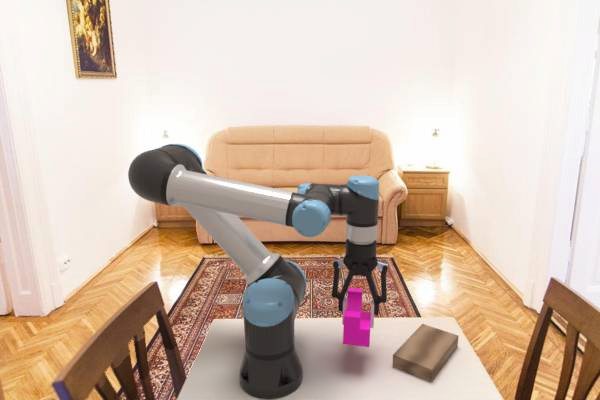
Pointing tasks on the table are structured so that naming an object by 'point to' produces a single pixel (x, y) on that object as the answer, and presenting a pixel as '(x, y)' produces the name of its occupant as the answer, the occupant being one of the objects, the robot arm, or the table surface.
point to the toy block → (356, 320)
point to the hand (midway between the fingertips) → (358, 323)
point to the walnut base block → (425, 352)
